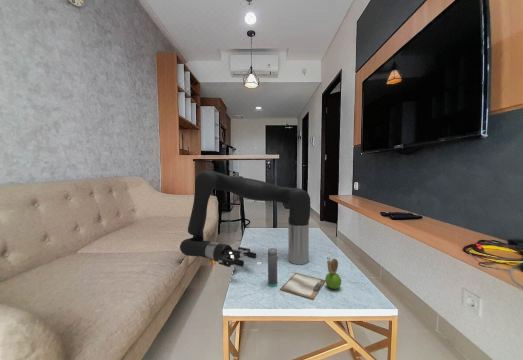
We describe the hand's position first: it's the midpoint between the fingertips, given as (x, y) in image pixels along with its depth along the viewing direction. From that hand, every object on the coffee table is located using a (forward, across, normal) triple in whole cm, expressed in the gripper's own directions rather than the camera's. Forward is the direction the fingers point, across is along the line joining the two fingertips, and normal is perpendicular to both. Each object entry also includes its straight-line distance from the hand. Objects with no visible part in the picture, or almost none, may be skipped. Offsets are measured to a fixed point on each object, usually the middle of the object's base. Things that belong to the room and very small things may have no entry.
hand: (250, 259), depth 88 cm
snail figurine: (+30, +8, +8) cm, 32 cm away
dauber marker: (+10, 0, +7) cm, 12 cm away
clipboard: (+20, +5, +7) cm, 22 cm away
